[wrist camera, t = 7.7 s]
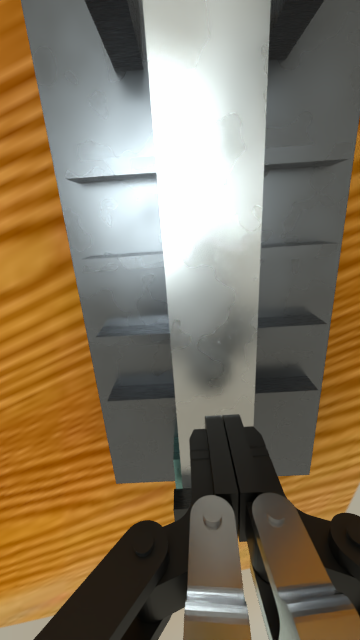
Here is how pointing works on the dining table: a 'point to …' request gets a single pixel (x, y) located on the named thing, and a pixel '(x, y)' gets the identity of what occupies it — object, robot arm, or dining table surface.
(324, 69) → the clamp base
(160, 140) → the bar
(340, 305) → the dining table surface
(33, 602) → the dining table surface
